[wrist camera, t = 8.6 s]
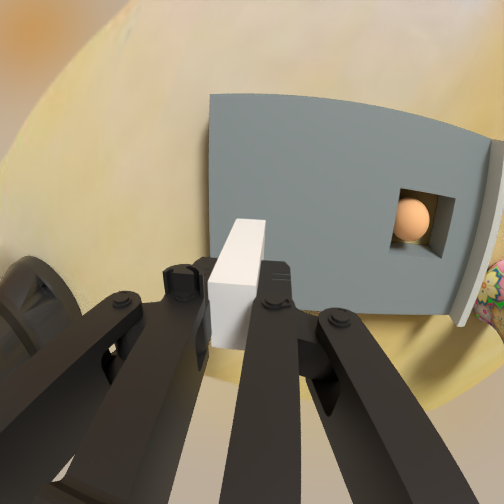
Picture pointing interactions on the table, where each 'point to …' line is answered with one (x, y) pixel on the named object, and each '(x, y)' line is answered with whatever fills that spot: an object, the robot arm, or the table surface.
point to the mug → (492, 298)
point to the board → (356, 200)
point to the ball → (411, 219)
